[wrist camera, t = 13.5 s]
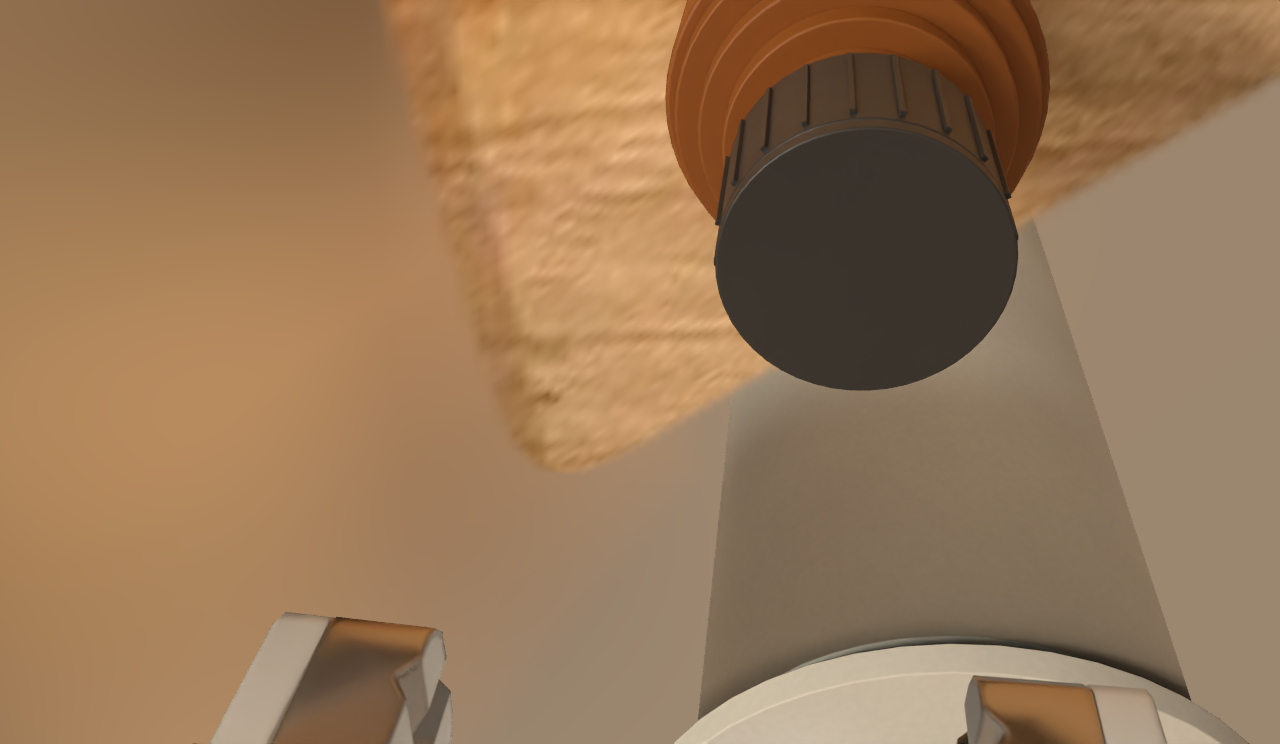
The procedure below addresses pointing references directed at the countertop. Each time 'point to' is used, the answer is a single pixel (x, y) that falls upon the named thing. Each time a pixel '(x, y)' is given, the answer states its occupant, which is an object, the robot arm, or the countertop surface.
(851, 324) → the cap
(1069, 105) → the countertop surface
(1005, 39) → the bottle
